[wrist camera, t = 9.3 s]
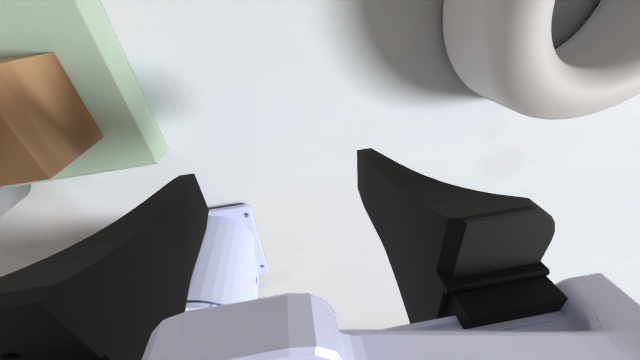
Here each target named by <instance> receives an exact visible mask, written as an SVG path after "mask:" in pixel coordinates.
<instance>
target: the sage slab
mask: <svg viewBox="0 0 640 360" xmlns="http://www.w3.org/2000/svg"><path fill="white" fill-rule="evenodd" d="M49 52H54V53H55V55H56V57H57V58H58V60H59V62H60V64H61V65H62V67H63V69H64V70H65V72H66V74H67V75H68V77H69V79H70V80H71V82H72V84H73V86H74V87H75V89H76V91H77V92H78V94H79V96H80V97H81V99H82V101H83V103H84V104H85V106H86V108H87V109H88V111H89V113H90V114H91V116H92V118H93V120H94V121H95V123H96V125H97V126H98V128H99V130H100V131H101V133H102V135H103V136H104V137H103V138H102V139H101V140H100V141H98V142H97V143H96V144H95V145H93V146H92V147H91V148H89V149H88V150H87V151H86V152H84V153H83V154H82V155H80V156H79V157H78V158H77V159H75V160H74V161H73V162H72V163H70V164H69V165H68V166H66V167H65V168H64V169H63V170H61V171H60V172H59V173H57V174H56V175H55V176H54V177H52V178H51V179H48V180H42V181H35V182H29V183H22V184H16V185H9V186H3V187H4V188H6V187H13V186H19V185H26V184H32V183H38V182H45V181H51V180H57V179H64V178H70V177H76V176H83V175H89V174H95V173H102V172H108V171H114V170H121V169H127V168H134V167H140V166H146V165H153V164H157V163H158V161H159V160H160V159H161V157H162V156H163V155H164V153H165V152H166V151H167V149H168V146H167V144H166V142H165V139H164V137H163V135H162V133H161V131H160V129H159V126H158V124H157V122H156V120H155V118H154V116H153V113H152V111H151V109H150V107H149V105H148V103H147V100H146V98H145V96H144V94H143V92H142V89H141V87H140V85H139V83H138V81H137V79H136V76H135V74H134V72H133V70H132V68H131V66H130V63H129V61H128V59H127V57H126V55H125V53H124V50H123V48H122V46H121V44H120V42H119V39H118V37H117V35H116V33H115V31H114V29H113V26H112V24H111V22H110V20H109V18H108V16H107V13H106V11H105V9H104V7H103V5H102V3H101V0H0V59H3V58H10V57H18V56H26V55H34V54H41V53H49Z"/></svg>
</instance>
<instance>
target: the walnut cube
mask: <svg viewBox="0 0 640 360" xmlns="http://www.w3.org/2000/svg"><path fill="white" fill-rule="evenodd" d="M103 137H104V136H103V135H102V133H101V131H100V130H99V128H98V126H97V125H96V123H95V121H94V120H93V118H92V116H91V114H90V113H89V111H88V109H87V108H86V106H85V104H84V103H83V101H82V99H81V97H80V96H79V94H78V92H77V91H76V89H75V87H74V86H73V84H72V82H71V80H70V79H69V77H68V75H67V74H66V72H65V70H64V69H63V67H62V65H61V64H60V62H59V60H58V58H57V57H56V55H55V53H54V52H49V53H41V54H34V55H26V56H18V57H10V58H3V59H0V187H3V186H9V185H16V184H22V183H29V182H35V181H42V180H48V179H51V178H52V177H54V176H55V175H56V174H57V173H59V172H60V171H61V170H63V169H64V168H65V167H66V166H68V165H69V164H70V163H72V162H73V161H74V160H75V159H77V158H78V157H79V156H80V155H82V154H83V153H84V152H86V151H87V150H88V149H89V148H91V147H92V146H93V145H95V144H96V143H97V142H98V141H100V140H101V139H102V138H103Z"/></svg>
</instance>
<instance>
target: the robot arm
mask: <svg viewBox="0 0 640 360" xmlns="http://www.w3.org/2000/svg"><path fill="white" fill-rule="evenodd" d="M357 173H358V190H359V193H360V196H361V199H362V202H363V205H364V207H365V209H366V211H367V213H368V215H369V217H370V219H371V221H372V223H373V225H374V227H375V229H376V231H377V233H378V235H379V237H380V239H381V241H382V243H383V246H384V248H385V250H386V253H387V256H388V259H389V261H390V264H391V267H392V269H393V272H394V275H395V278H396V281H397V284H398V287H399V290H400V293H401V296H402V299H403V302H404V305H405V308H406V312H407V315H408V318H409V321H410V324H408V325H402V326H397V327H392V328H387V329H382V330H361V329H338V326H337V321H336V316H335V312H334V310H333V309H332V307H331V305H330V304H329V302H328V301H327V300H324V299H322V298H319V297H317V296H314V295H312V294H309V293H287V294H281V295H276V296H270V297H264V298H259V299H258V284H259V276H263V275H266V274H268V267H267V263H266V260H265V256H264V253H263V249H262V246H261V243H260V239H259V236H258V232H257V229H256V225H255V222H254V219H253V215H252V212H251V208H250V206H249V205H246V204H242V205H236V206H229V207H223V208H216V209H210V210H209V209H208V207H207V204H206V202H205V199H204V197H203V194H202V192H201V190H200V187H199V185H198V182H197V180H196V177H195V175H194V174H188V175H181V176H178V177H176V178H175V179H173V180H172V181H171V182H169V183H168V184H166V185H165V186H164V187H162V188H161V189H160V190H159V191H157V192H156V193H155V194H153V195H152V196H151V197H149V198H148V199H147V200H145V201H144V202H143V203H141V204H140V205H138V206H137V207H136V208H134V209H133V210H131V211H130V212H129V213H127V214H126V215H124V216H123V217H121V218H120V219H118V220H117V221H115V222H114V223H112V224H110V225H109V226H107V227H105V228H104V229H102V230H100V231H99V232H97V233H95V234H93V235H92V236H90V237H88V238H86V239H84V240H82V241H80V242H78V243H76V244H74V245H72V246H71V247H69V248H67V249H65V250H63V251H61V252H59V253H56V254H54V255H52V256H50V257H48V258H46V259H43V260H41V261H39V262H36V263H34V264H32V265H30V266H27V267H25V268H23V269H20V270H18V271H15V272H13V273H10V274H7V275H5V276H2V277H0V360H640V305H639V304H638V303H637V302H635V301H634V300H633V299H632V298H630V297H629V296H628V295H627V294H626V293H624V292H623V291H622V290H621V289H620V288H618V287H617V286H616V285H615V284H613V283H612V282H611V281H610V280H609V279H607V278H606V277H605V276H604V275H603V274H601V273H595V274H589V275H584V276H579V277H573V278H568V279H565V280H562V281H560V282H559V283H557V284H556V285H555V284H554V283H553V282H552V281H551V280H550V279H549V278H548V277H547V276H546V275H548V274H549V273H550V272H549V269H548V268H547V267H546V266H545V265H544V264H543V263H542V262H541V259H542V257H543V255H544V253H545V251H546V250H547V248H548V246H549V244H550V242H551V240H552V237H553V235H554V232H555V222H554V220H553V218H552V216H551V215H549V214H548V213H547V212H546V211H544V210H543V209H542V208H540V207H539V206H538V205H537V204H535V203H534V202H533V201H531V200H530V199H529V198H523V197H514V196H506V195H498V194H492V193H486V192H481V191H475V190H471V189H466V188H462V187H459V186H455V185H451V184H448V183H444V182H441V181H438V180H435V179H433V178H430V177H427V176H424V175H422V174H420V173H417V172H415V171H413V170H411V169H409V168H407V167H405V166H403V165H401V164H399V163H397V162H395V161H393V160H391V159H390V158H388V157H386V156H384V155H382V154H381V153H379V152H377V151H375V150H373V149H371V148H369V149H362V150H357ZM244 213H247V214H248V215H245V214H244Z"/></svg>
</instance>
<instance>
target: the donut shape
mask: <svg viewBox="0 0 640 360" xmlns="http://www.w3.org/2000/svg"><path fill="white" fill-rule="evenodd" d="M554 4H555V0H444V3H443V36H444V42H445V47H446V51H447V54H448V57H449V60H450V62H451V64H452V67H453V68H454V70H455V72H456V74H457V75H458V76H459V78H460V79H461V80H462V81H463V83H464V84H465V85H466V86H467V87H469V88H470V89H471V90H472V91H474V92H475V93H477V94H479V95H480V96H482V97H484V98H487V99H489V100H491V101H493V102H496V103H498V104H500V105H502V106H505V107H507V108H509V109H511V110H514V111H516V112H518V113H521V114H523V115H526V116H530V117H534V118H540V119H569V118H576V117H581V116H585V115H589V114H593V113H596V112H599V111H602V110H605V109H607V108H610V107H613V106H615V105H617V104H619V103H622V102H624V101H626V100H628V99H630V98H631V97H633V96H635V95H637V94H639V93H640V0H601V1H600V3H599V4H598V6H597V7H596V9H595V10H594V12H593V13H592V15H591V16H590V17H589V19H588V20H587V21H586V22H585V24H584V25H583V26H582V27H581V28H580V29H579V30H578V31H577V32H576V33H575V34H574V35H573V36H572V37H571V38H570V39H569V40H567V41H566V42H565V43H563V44H562V45H561V46H559V47H558V48H556V49H554V46H553V42H552V34H551V23H552V14H553V8H554Z"/></svg>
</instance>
